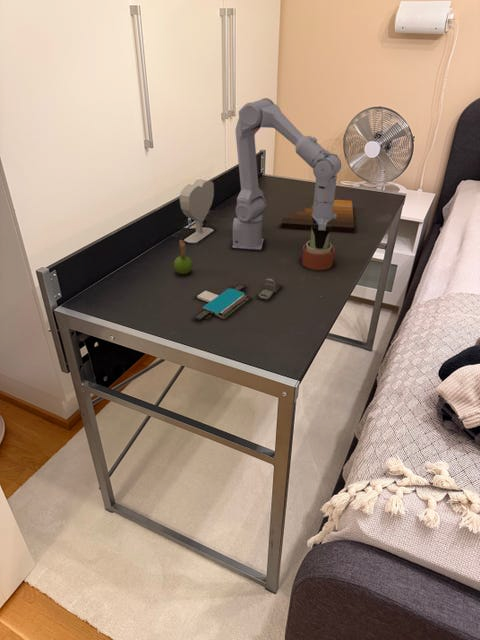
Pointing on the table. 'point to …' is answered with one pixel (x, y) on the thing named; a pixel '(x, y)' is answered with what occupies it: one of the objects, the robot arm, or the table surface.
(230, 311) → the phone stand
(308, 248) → the stack top cup
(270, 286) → the strap clip
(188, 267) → the green candy apple
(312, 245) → the sage cup
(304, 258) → the stack base cup
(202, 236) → the heart sculpture
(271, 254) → the table surface
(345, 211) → the pan flute
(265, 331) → the table surface
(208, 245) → the table surface
